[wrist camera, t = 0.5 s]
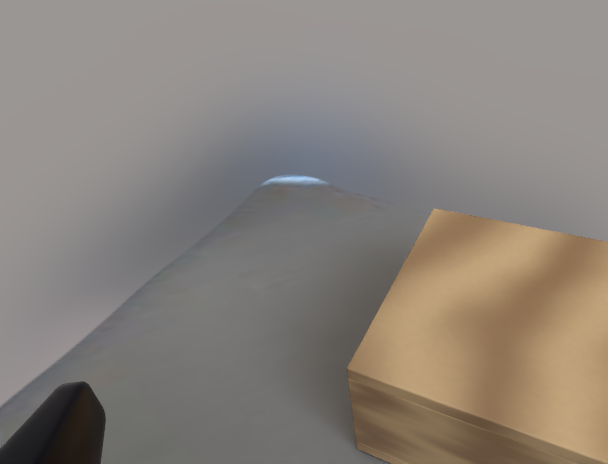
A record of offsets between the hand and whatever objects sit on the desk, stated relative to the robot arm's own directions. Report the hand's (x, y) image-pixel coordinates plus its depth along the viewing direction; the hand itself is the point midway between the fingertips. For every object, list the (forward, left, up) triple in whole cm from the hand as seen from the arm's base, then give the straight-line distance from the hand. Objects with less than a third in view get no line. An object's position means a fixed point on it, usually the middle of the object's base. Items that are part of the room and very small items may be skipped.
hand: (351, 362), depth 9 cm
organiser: (+8, -9, -17) cm, 20 cm away
